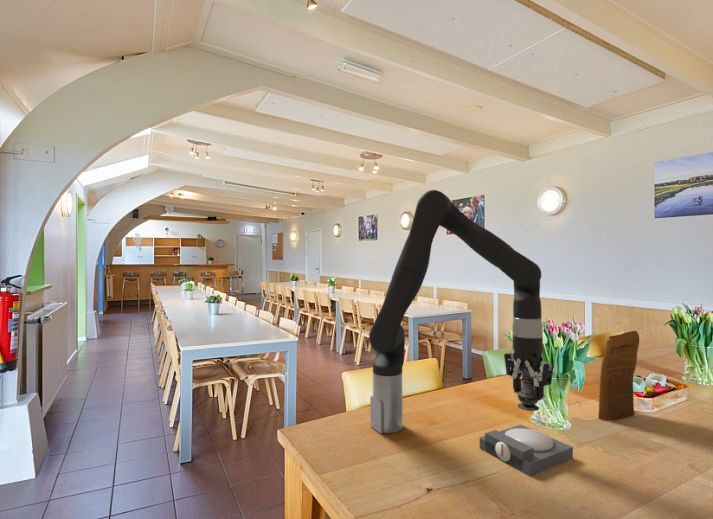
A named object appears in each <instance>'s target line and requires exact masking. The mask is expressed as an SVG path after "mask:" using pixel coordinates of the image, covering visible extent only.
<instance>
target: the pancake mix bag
mask: <svg viewBox="0 0 713 519" xmlns="http://www.w3.org/2000/svg"><path fill="white" fill-rule="evenodd" d="M639 345H640V334H639V333H638V331H637V330H632V331H626V332H623V333H620V334H614V335H611V336H608V339H606V344H605V348H604V352H603V356H602V360H601V365H600V366H601V367H600V376H599V397H598V419H599V420H603V421H617V420H620V419H621V420H622V419H625V418H630V417H634V416H635V407H634V405H635V403H634V375H635V371H636V368H637V363H638V361H637V360H638V352H639Z"/></svg>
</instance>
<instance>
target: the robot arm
mask: <svg viewBox="0 0 713 519" xmlns="http://www.w3.org/2000/svg"><path fill="white" fill-rule="evenodd" d="M415 207H416V208H415V211H414V216H413V219H412V222H411V225H410V229H409V233H408V235H407V239H406V240H405V242H404V245H403V247H402V249H401V252H400V255H399V258H398V260H397V263H396V266H395V267H394V270H393V273H392V277H391V279H390V283H389V285H388V289H387V291H386V294H385V297H384V299H383V300H384V301H383V303H382V305H381V307H380V310H379V312H378V315H377V316H376V318H375V320H374V323H373V325H372V326H371V329H370V331H369V335H368V340H369V344H370V347H371V348H372V350H374V352H376V354H375V355H376V356H375V358H374V361H373V364H372V395H370V396H369V397H370V407H369V409H370V427H371V428H373V430H375V431H377V433H379V434H394V433H398V432H400V431H401V430H403V425H404V424H403V422H404V421H403V420H404V418H403V416H404V414H403V413H404V412H403V411H404V409H403V401H404V400H403V366H404V362H405V348H406V347H405V344H406V343H405V341H406V337H405V331H404V328H403V326H402V321H403V319H404V316H405V314H406V312H407V311H408V309H409V307H410V306H411V304H412V303H413V301H414V300H415V299H416V297H417V295H418V293H419V292H420V290H421V287H422V286H423V283H424V279H425V276H426V274H427V272H428V268H429V265H430V258H431V251H432V245H433V242H434V238H435V236H436V234H437V231H438V229H439V227H442V228H443V229H446V230H447V231H449V232H450V233H452V234H453V235H455V236H457V237H458V238H459V239H460V240H461V241H463V242H464V243H465V245H467V247H469V248H470V249H471V250H473V251H474V253H476V254H477V255H479V257H481V258H483V259H484V260H485V261H487V262H488V263H489V264H491V265H493V266H494V267H496V268H498V269H499V270H500V271H501V272H502V273H503V274H504V275H506V276H507V277H508V278H510V279H511V280H512V281H513V293H514V295H513V296H514V297H513V303H512V304H513V306H512V314H513V316H512V327H511V330H512V332H511V333H512V350H513V352H508V353H504V355H503V356H504V357H503V359H504V364H505V371H506V372H505V373H506V375H507V376H509V377H511V379H512V389H513V392H514V393H515V394H517V391H521V389H522V380H521V378H522V370H523V369H526V370H527V371H528V373H530V376H531V377H532V378H533V380H534V390H535V400H538V402H539V401H541V400H543V399H544V397H545V396H544V395H545V394H544V393H545V392H544V391H545V389H544V388H545V386H550V385H552V379H553V372H554V363H553V362H547V361H544V359H543V356H542V354H543V352H544V350H543V349H544V344H543V342H544V338H543V337H544V336H543V335H544V333H543V332H544V330H543V321H542V319H543V318H542V302H541V301H542V300H541V298H540V297H541V296H540V295H541V294H540V293H541V279H542V270H541V267H540V266H539V265H538V264H537V263H535V262H534V261H532V260H530V258H528V257H526V256H525V255H523V254H522V253H520V252H518V251H516V250H515V248H513V247H512V246H511V245H509V243H507V242H506V241H504V240H503V239H502V238H500V237H498V236H497V235H496V234H494V233H493V232H491V231H490V230H488V229H486V228H485V227H483V226H482V225H480V224H478V223H477V222H475V221H474V220H472V219H471V218H469V217H468V216H467V215H466V214H465V213H463V212H462V210H460V209H459V208H458V207H457V206H456V205H455V204H454V203H453V202H452V201H451V199H450V198H449V196H447V195H446V194H445V193H443V192H442V191H439V190H437V189H430V190H427V191H426V192H424V193H423V194H422V195H421V196H420V197H419V198H418V201H417V204H416V206H415Z"/></svg>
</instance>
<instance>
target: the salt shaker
mask: <svg viewBox="0 0 713 519" xmlns="http://www.w3.org/2000/svg"><path fill="white" fill-rule="evenodd" d="M520 379H521V383H522V389H521V391H517V393H516V395H517V398H518V400H519V401H520V402H519V403H518V404H517V408H519V409H521V410H524V411H529V412H535V411H539V409H540V407H539V406H537V403H538V402H539V401H538V400H535V383H534V380H533V378H532V377H531V376H530V373H528V371H527V370H526V369H523V370H522V376H521V378H520Z"/></svg>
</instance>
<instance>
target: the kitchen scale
mask: <svg viewBox="0 0 713 519" xmlns="http://www.w3.org/2000/svg"><path fill="white" fill-rule="evenodd" d="M479 450H482V451H483V452H485V453H487V454H489V455H490V456H493V457H495V458H496V459H498V460H499V461H502V462H503V463H506V464H507V465H509V466H511V467H513V468H514V469H516V470H518V471H520V473H521V472H522V473H523V474H525V475H527V476H528V477H531V476H535V475H537V474H539V473H541V472H544V471H547V470H548V469H549V470H550V469H551V468H553V467H556V466H559V465H561V464H563V463H565V462H568V461H570V460H573V458H574V453H573V452H574V447H573V446H571V445H569V444H566V443H564V442H562V441H559V440H557V439H555V438H552V437H551V436H550V435H547V434H546V433H543V432H541V431H538V430H535V429H532V428H530V427H527V426H524V425H522V424H519V425H516V426H512V427H509V428H506V429H503V430H496V429H494V430H491V431H487V432H485V433H484V435H483V436H480V437H479Z"/></svg>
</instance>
